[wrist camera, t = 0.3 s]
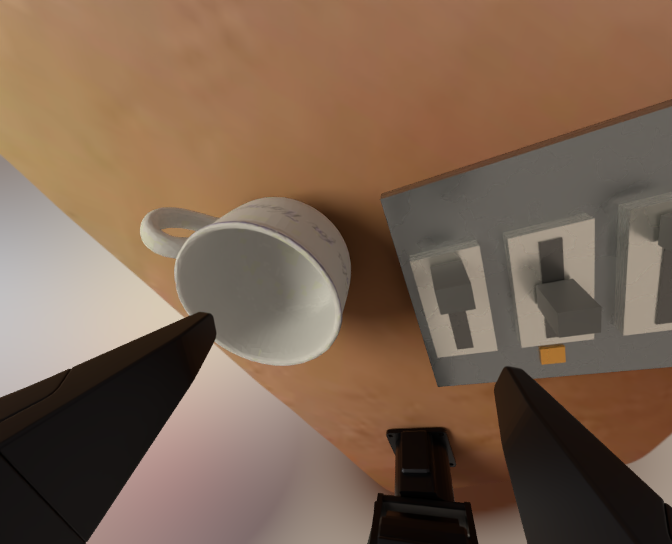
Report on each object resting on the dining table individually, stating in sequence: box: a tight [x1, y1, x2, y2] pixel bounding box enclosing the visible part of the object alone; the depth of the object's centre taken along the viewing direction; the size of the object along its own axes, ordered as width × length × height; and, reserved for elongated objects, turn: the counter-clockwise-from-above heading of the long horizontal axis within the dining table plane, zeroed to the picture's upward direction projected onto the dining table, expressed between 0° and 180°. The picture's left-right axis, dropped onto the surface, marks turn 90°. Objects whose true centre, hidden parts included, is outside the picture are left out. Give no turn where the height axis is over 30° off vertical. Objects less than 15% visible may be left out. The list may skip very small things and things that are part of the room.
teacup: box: [140, 197, 351, 366], centre depth 20 cm, size 14×11×8 cm
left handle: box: [430, 260, 476, 315], centre depth 18 cm, size 2×2×3 cm
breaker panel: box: [380, 99, 672, 387], centre depth 20 cm, size 18×18×3 cm
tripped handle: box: [536, 279, 602, 338], centre depth 17 cm, size 2×2×3 cm
